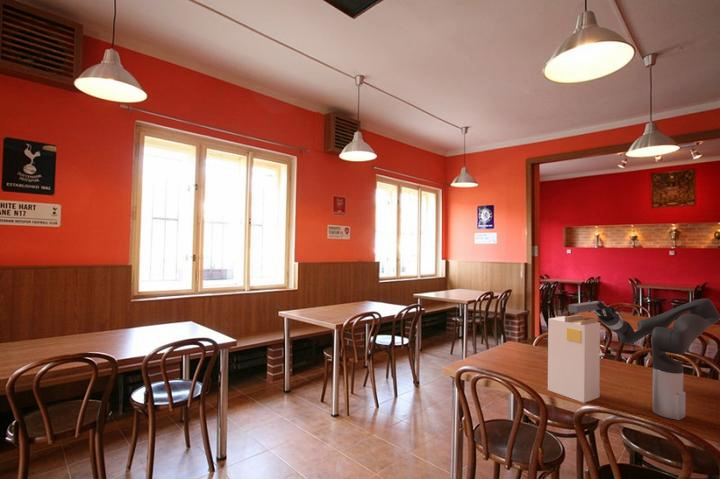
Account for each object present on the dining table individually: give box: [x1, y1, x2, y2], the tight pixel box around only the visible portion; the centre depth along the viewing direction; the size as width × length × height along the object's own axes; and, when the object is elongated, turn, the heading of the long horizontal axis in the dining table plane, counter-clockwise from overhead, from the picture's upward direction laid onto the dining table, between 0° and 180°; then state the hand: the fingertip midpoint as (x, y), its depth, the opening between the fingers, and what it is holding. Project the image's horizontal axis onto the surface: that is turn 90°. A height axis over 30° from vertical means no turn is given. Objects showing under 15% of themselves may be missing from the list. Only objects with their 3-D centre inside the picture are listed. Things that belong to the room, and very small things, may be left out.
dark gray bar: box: [568, 300, 605, 314], centre depth 166 cm, size 4×22×3 cm, turn 121°
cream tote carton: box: [547, 314, 601, 404], centre depth 167 cm, size 16×12×34 cm
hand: (593, 302), depth 169 cm, fingers closed on dark gray bar, 3 cm apart
